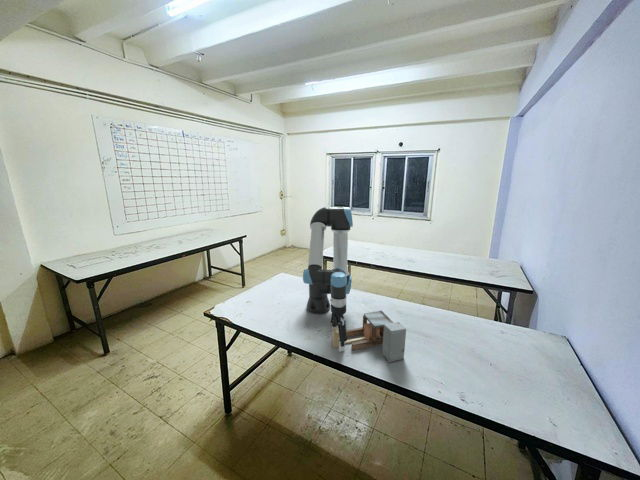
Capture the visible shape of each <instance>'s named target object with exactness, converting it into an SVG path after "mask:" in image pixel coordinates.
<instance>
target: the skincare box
mask: <svg viewBox="0 0 640 480" xmlns="http://www.w3.org/2000/svg"><path fill="white" fill-rule="evenodd" d="M406 334H407V328H406V327H405V326H404V325H402V324H401V322H399V321H398V322H394V323H389V324H384V332H383V335H382V337H383V344H382V349H381V351H382V353H381V354H382V355H383V357H384V358H386V360H387V361H388V362H389V363H391V362H395V361H400V360H403V359H404V358H405V348H406V347H405V346H406Z"/></svg>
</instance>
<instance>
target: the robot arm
mask: <svg viewBox="0 0 640 480" xmlns="http://www.w3.org/2000/svg"><path fill="white" fill-rule="evenodd" d="M309 223H310V224H309V228H310V230H311V231H310V239H309V240H310V242H309V250H308V251H309V254H308V261H307V262H308V263H307V268H306V269H304V270H303V272H302V281H303V282H302V283H304V284H306V285H308V292H309V293H308V295H309V297H308V300H307V303H306V310H307V311H308V312H310V313H312V314H317V315H321V314H325V313H327V312H328V311H330V312H331V315H330V316H331V317H330V324H331V326H332V327H331V330H332V329H338V330H339V337H340V339H339V347H338V352H339V353H341V352H345V351H346V349H345V348H346V346H345V345H346V344H345V341H347V340H348V337H347V336H346V330H347V324H346V323H347V321H346V320H345V319H344V315H345V314H346V313H347V295H349V294H350V293H351V290H352V289H351V288H352V279H353V276H352V275H351V274H350V272H349V270H348V249H349V248H348V247H349V246H348V242H349V241H348V238H349V235H348V234H349V232H350V231H351V228H353V226H354V224H353V215H352V209H351V208H350V207H349V206H324V207H322V208H319V209H318V210H316V212H315V213H313V216H312V217H311V220H310V222H309ZM327 227H329V228H330V230H331V231H332V232H333V241H332V242H333V246H332V250H333V251H332V252H333V255H332V256H333V257H332V261H333V263H332V264H333V265H332V266H333V268H332V269H323V263H324V262H323V261H324V243H325V231H326V230H327ZM328 295H330V299H329V297H328Z"/></svg>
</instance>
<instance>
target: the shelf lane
mask: <svg viewBox="0 0 640 480" xmlns="http://www.w3.org/2000/svg"><path fill="white" fill-rule="evenodd" d="M367 323H370V324H371V325H372V326H373V327H372V339H369V340H363V341H358V342H353V343H351V350H352V351H356V350H361V349H366V348H371V347H375V346H376V347H377V346H380V345H383V332H384V324H389V323H395V322H394V321H393V320H392V319H391V318H390V317H389V316H388V315H387V314H386V313H385V312H384V311H383V310H377V311H371V312H365V313H363V315H362V327H355V328H350V329H346V336H347V338H348V337H354V336H359V335H364V324H367ZM377 328H380V335H382V336H380V337H379V338H376V332H377Z"/></svg>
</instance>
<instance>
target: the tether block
mask: <svg viewBox="0 0 640 480" xmlns="http://www.w3.org/2000/svg"><path fill="white" fill-rule="evenodd" d="M372 327H373V326H372V325H371V324H370V322H367V324H364V334H363V337H362V336H361V337H357V338H352V339H347V341H345V345H346V344H352V343H354V342H359V341H364V340H369V339H372ZM331 334H332V335H331V338H332V342H331V343H332V346H333V348H339V339H340V337H339V330H338V329H332V328H331ZM380 335H381V332H380V328H377V332H376V338H379V337H381V336H380Z"/></svg>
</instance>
